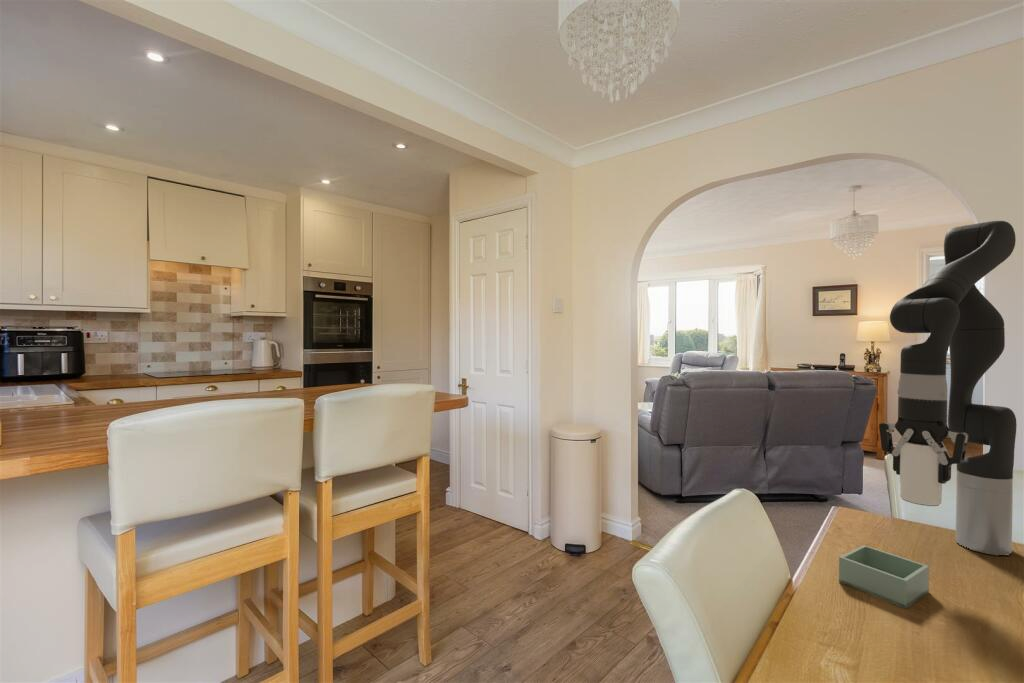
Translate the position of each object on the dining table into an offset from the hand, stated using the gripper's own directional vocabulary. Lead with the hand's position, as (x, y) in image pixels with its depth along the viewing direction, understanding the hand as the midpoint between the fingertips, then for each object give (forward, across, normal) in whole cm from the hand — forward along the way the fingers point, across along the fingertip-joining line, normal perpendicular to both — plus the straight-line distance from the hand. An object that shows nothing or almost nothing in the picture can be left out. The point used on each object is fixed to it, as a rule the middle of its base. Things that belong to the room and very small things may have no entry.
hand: (920, 478), depth 95 cm
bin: (+20, +2, +11) cm, 23 cm away
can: (+5, 0, 0) cm, 5 cm away
